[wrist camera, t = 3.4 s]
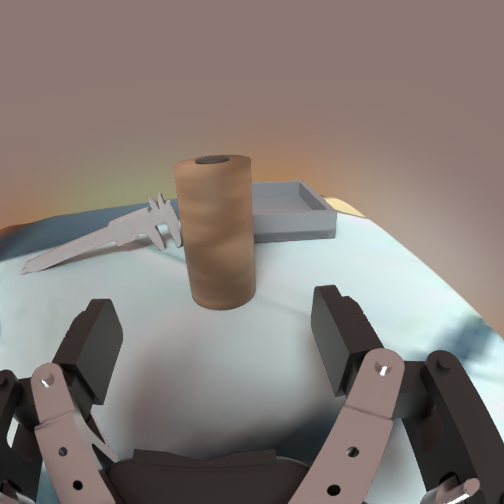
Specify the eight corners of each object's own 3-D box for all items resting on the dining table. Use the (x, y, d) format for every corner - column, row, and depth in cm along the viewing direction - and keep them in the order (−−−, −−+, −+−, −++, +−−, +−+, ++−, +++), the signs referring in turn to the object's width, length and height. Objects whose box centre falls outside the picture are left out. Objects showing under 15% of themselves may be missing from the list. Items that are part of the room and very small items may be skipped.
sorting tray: (184, 248, 29) (180, 221, 28) (196, 205, 42) (194, 186, 40) (334, 237, 30) (337, 211, 29) (302, 199, 43) (303, 180, 41)
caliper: (181, 245, 31) (174, 189, 28) (182, 249, 30) (174, 191, 27) (24, 272, 26) (8, 224, 23) (21, 277, 25) (4, 227, 22)
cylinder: (189, 312, 20) (166, 169, 15) (194, 275, 24) (179, 156, 20) (258, 307, 20) (254, 162, 16) (252, 271, 25) (247, 151, 20)
